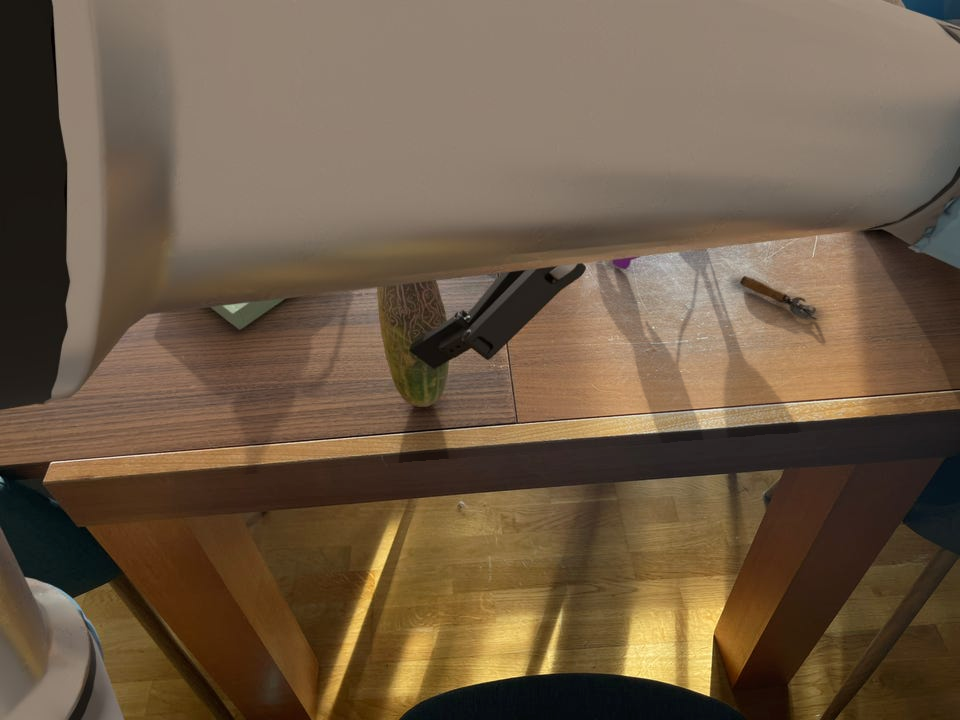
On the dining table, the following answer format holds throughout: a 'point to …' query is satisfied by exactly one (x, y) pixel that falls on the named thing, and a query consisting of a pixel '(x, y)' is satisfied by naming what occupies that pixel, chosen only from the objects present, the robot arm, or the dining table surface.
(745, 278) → the can opener
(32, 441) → the dining table surface
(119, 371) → the dining table surface
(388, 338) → the vegetable
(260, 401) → the dining table surface
